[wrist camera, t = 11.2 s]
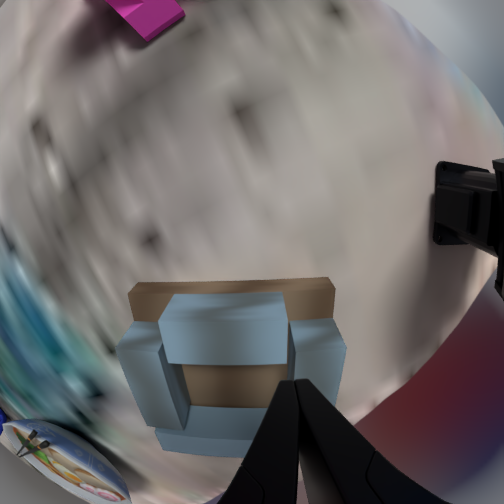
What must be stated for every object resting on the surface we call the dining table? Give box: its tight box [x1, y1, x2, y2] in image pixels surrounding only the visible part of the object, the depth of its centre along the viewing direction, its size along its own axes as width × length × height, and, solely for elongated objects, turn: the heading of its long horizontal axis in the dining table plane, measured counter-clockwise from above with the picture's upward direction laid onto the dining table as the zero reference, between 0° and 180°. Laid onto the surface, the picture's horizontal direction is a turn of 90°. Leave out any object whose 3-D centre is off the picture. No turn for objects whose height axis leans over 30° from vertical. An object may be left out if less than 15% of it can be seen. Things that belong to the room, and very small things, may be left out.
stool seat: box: [115, 277, 347, 431], centre depth 19 cm, size 14×14×6 cm
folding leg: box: [155, 405, 267, 458], centre depth 19 cm, size 14×3×4 cm, turn 91°
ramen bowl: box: [2, 419, 132, 504], centre depth 24 cm, size 25×23×8 cm
